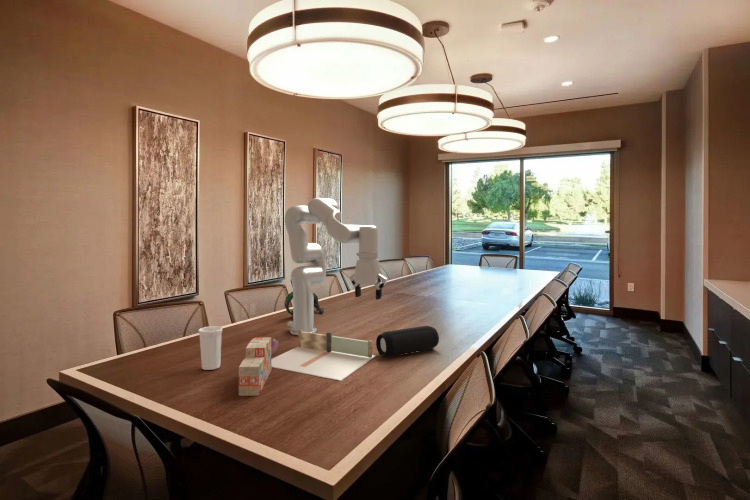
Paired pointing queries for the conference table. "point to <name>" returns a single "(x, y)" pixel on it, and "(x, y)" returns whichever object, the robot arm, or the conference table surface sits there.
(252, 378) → the stack of blocks
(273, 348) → the video game controller
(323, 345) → the fixed fence section
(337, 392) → the conference table surface
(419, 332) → the portable speaker
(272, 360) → the card
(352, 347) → the folding fence panel
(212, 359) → the cup
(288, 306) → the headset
